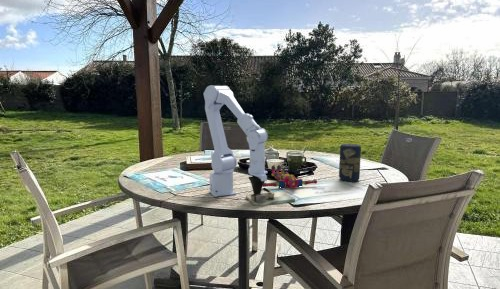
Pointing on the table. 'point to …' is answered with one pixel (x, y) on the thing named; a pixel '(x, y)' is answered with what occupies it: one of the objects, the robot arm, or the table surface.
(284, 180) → the toy
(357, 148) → the canister
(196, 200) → the table surface
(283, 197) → the door board
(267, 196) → the swing latch
